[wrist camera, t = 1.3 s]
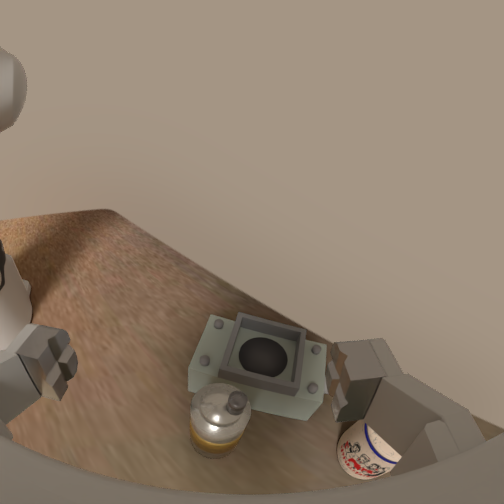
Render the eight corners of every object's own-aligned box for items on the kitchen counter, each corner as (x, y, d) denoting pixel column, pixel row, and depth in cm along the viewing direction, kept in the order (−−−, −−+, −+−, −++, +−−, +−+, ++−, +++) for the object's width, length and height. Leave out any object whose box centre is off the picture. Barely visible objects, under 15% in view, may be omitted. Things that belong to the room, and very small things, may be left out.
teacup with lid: (320, 454, 31) (363, 420, 24) (359, 412, 36) (402, 369, 29) (383, 504, 24) (442, 483, 17) (415, 457, 30) (469, 423, 23)
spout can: (183, 451, 29) (181, 412, 21) (197, 412, 33) (202, 359, 26) (231, 464, 28) (250, 432, 21) (241, 425, 33) (263, 376, 25)
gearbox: (187, 390, 35) (188, 358, 31) (207, 340, 43) (212, 304, 38) (334, 425, 34) (361, 399, 30) (337, 373, 42) (359, 341, 37)
